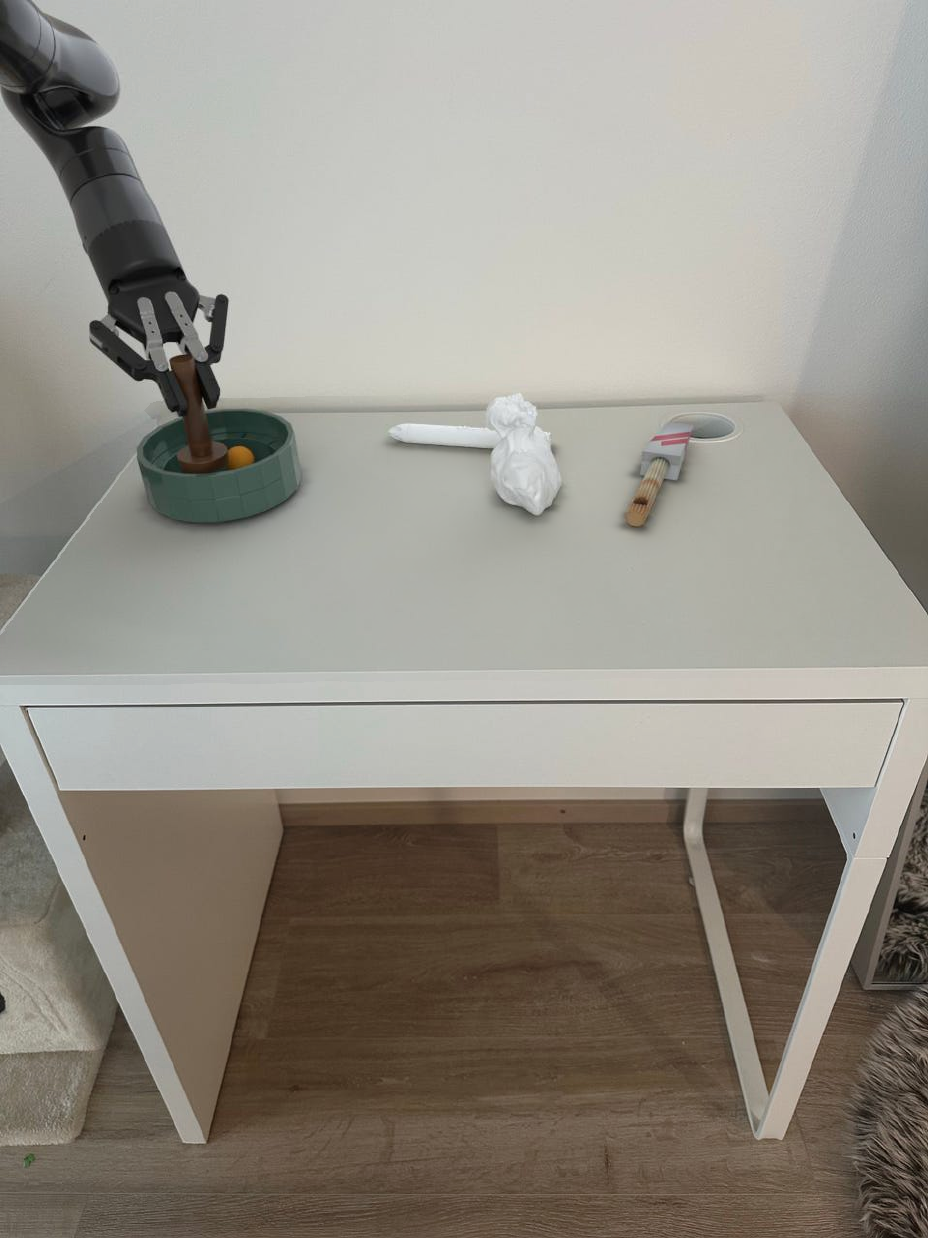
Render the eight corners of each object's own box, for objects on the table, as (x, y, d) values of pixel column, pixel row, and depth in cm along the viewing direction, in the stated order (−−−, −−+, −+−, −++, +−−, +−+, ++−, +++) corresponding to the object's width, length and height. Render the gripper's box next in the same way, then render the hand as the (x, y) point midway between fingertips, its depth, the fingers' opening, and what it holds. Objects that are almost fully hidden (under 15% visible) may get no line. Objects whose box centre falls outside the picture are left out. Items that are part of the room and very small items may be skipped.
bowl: (254, 537, 88) (244, 485, 84) (118, 515, 92) (104, 464, 89) (326, 465, 99) (319, 417, 96) (202, 448, 103) (192, 401, 100)
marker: (385, 444, 103) (383, 424, 101) (390, 436, 104) (389, 416, 103) (548, 455, 99) (548, 435, 98) (551, 447, 101) (551, 426, 99)
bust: (527, 486, 98) (459, 405, 94) (587, 447, 95) (518, 361, 90) (517, 546, 89) (440, 459, 84) (582, 506, 85) (506, 412, 81)
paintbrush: (700, 412, 99) (655, 509, 85) (697, 436, 101) (653, 535, 86) (664, 407, 100) (614, 502, 86) (662, 431, 102) (612, 527, 88)
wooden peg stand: (212, 477, 89) (189, 370, 82) (169, 470, 90) (143, 365, 84) (238, 455, 92) (218, 351, 86) (196, 449, 94) (173, 346, 87)
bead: (247, 482, 95) (242, 455, 94) (222, 478, 96) (216, 452, 94) (262, 469, 98) (257, 442, 96) (237, 465, 98) (231, 439, 97)
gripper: (48, 230, 81) (125, 410, 80) (202, 204, 87) (275, 372, 85) (52, 278, 88) (123, 445, 86) (195, 251, 93) (262, 407, 92)
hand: (198, 408), depth 86 cm, fingers closed on wooden peg stand
